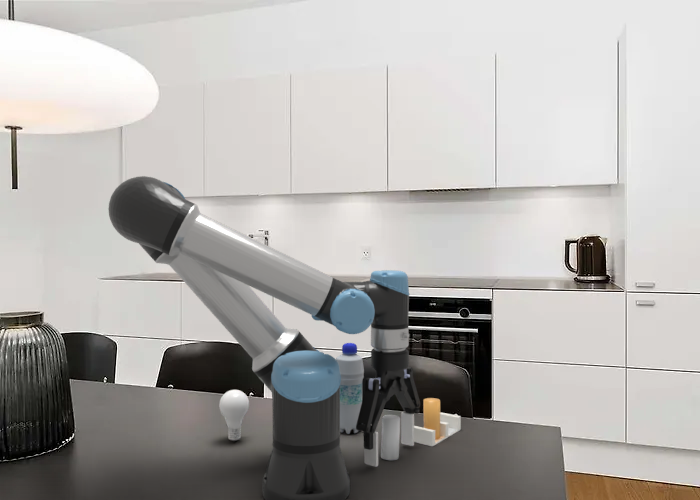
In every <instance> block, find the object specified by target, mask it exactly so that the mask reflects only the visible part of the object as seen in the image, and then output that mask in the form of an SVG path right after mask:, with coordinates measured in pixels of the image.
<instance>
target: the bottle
mask: <svg viewBox="0 0 700 500" xmlns="http://www.w3.org/2000/svg"><path fill="white" fill-rule="evenodd" d="M341 349H342V350H341V352H342V354H340V355H338V356H337V357H336V358H335V359H336V360H337V362H338V364H339V369H340V374H341V382H340V434H341V433H344V432H345V433H346V434H347V435H350V434H351V431H352V430H353V431H352V432H353V433H354V434H357V433H359V432H360V431H359V430H356V424H357V420H358V416H359V412H360V408H361V404H362V400H363V379H364V378H365V376H364V373H365V369H364V361H363V357H362V356H360V355H358V354H357V353H358V346H357V344H356V343H353V342H346V343H345V342H344V344H342V348H341ZM362 424H363V423H362Z"/></svg>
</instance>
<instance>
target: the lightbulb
mask: <svg viewBox="0 0 700 500" xmlns="http://www.w3.org/2000/svg"><path fill="white" fill-rule="evenodd" d="M218 406H219V407H218V408H219V411H220V414H221V415H222V417H223V418H224V420H225V424H226V426H227V431H228V432H227V435H228V436H227V437H228V438H227V439H228V440H230V441H232V442H237V441H239V440H240V439H242V434H241V431H242V430H241V429H242V425H243V421H244V418H245V416H246V415H247V413H248V411H249V408H250V400H249V397H248V396H247V394H246V393H244V392H243V390H239V389H230V390H227V391H226V392H225V393H224V394H223V395H222V396H221V398H220V399H219V403H218Z"/></svg>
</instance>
